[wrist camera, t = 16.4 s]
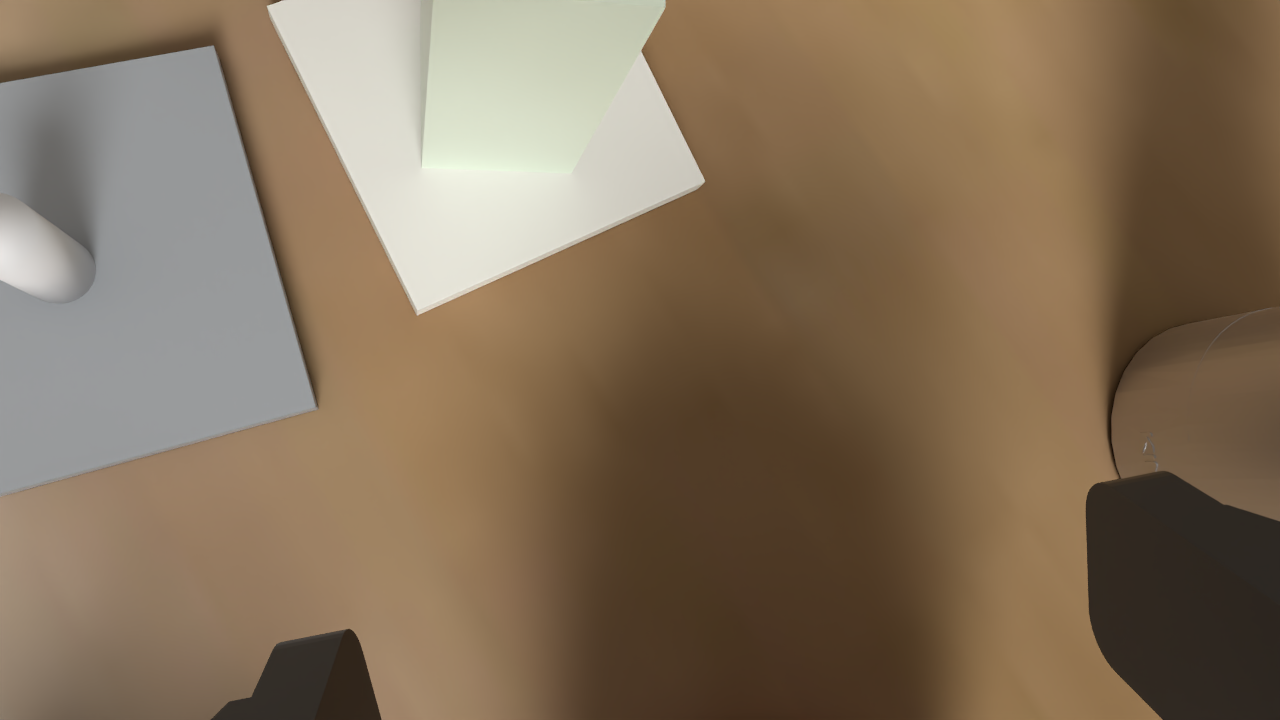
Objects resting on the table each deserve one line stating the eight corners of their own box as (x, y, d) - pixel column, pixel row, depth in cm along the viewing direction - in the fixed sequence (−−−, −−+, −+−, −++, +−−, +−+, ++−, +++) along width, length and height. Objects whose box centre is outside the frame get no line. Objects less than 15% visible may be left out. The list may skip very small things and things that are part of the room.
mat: (563, -83, 36) (567, -99, 35) (697, 189, 36) (705, 181, 35) (270, 19, 33) (266, 6, 32) (416, 315, 33) (417, 310, 32)
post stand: (219, 58, 32) (179, -33, 27) (318, 409, 32) (300, 394, 26) (-201, 134, 29) (-349, 49, 24) (-99, 523, 29) (-224, 535, 23)
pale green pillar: (567, 33, 34) (657, -205, 22) (571, 173, 34) (665, 7, 22) (420, 22, 33) (431, -234, 21) (421, 167, 33) (434, -12, 21)
